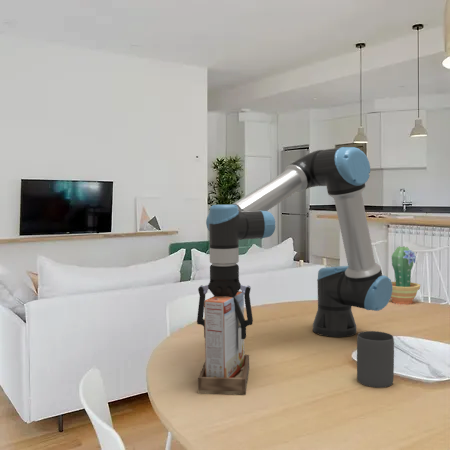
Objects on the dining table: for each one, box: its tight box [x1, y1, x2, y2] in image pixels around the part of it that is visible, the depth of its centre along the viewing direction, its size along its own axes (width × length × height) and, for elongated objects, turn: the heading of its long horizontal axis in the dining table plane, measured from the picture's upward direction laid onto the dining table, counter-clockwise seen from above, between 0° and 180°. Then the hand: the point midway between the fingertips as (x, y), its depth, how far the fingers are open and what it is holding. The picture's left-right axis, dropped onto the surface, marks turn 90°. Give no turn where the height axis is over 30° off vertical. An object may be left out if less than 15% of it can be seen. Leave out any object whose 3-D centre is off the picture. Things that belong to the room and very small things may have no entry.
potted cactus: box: [390, 245, 421, 305], centre depth 222 cm, size 15×15×25 cm
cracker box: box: [204, 290, 245, 378], centre depth 130 cm, size 14×6×21 cm, turn 157°
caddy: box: [197, 354, 250, 395], centre depth 130 cm, size 12×19×4 cm, turn 174°
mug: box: [356, 330, 395, 389], centre depth 130 cm, size 14×9×12 cm
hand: (225, 350), depth 130 cm, fingers open, 7 cm apart
